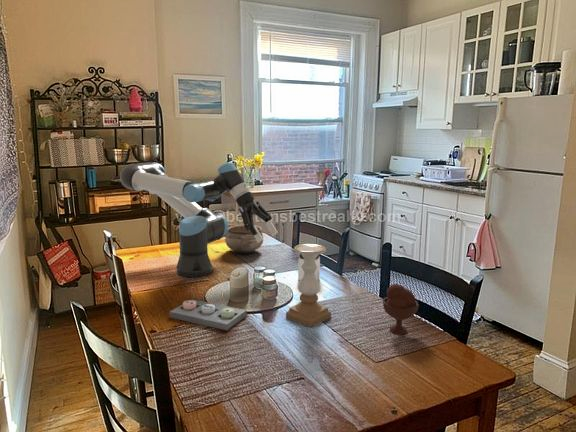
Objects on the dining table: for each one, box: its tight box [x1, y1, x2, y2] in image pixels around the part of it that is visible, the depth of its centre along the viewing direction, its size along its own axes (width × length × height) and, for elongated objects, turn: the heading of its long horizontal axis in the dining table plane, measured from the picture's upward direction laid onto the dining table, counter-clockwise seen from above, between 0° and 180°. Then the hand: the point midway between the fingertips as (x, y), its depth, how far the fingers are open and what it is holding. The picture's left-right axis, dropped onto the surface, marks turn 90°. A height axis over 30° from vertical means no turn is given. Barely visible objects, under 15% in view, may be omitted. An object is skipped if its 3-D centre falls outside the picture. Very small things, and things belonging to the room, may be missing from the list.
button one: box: [221, 308, 235, 319], centre depth 144 cm, size 4×4×3 cm
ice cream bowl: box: [382, 283, 420, 336], centre depth 137 cm, size 11×11×15 cm
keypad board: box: [169, 298, 247, 331], centre depth 147 cm, size 22×12×2 cm, turn 65°
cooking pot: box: [224, 224, 264, 255], centre depth 222 cm, size 25×19×12 cm
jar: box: [297, 253, 321, 281], centre depth 184 cm, size 9×8×12 cm
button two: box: [182, 299, 196, 311], centre depth 150 cm, size 4×4×3 cm
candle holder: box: [285, 243, 332, 328], centre depth 145 cm, size 11×11×24 cm
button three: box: [201, 303, 215, 315], centre depth 147 cm, size 4×4×3 cm
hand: (268, 237), depth 189 cm, fingers open, 13 cm apart
